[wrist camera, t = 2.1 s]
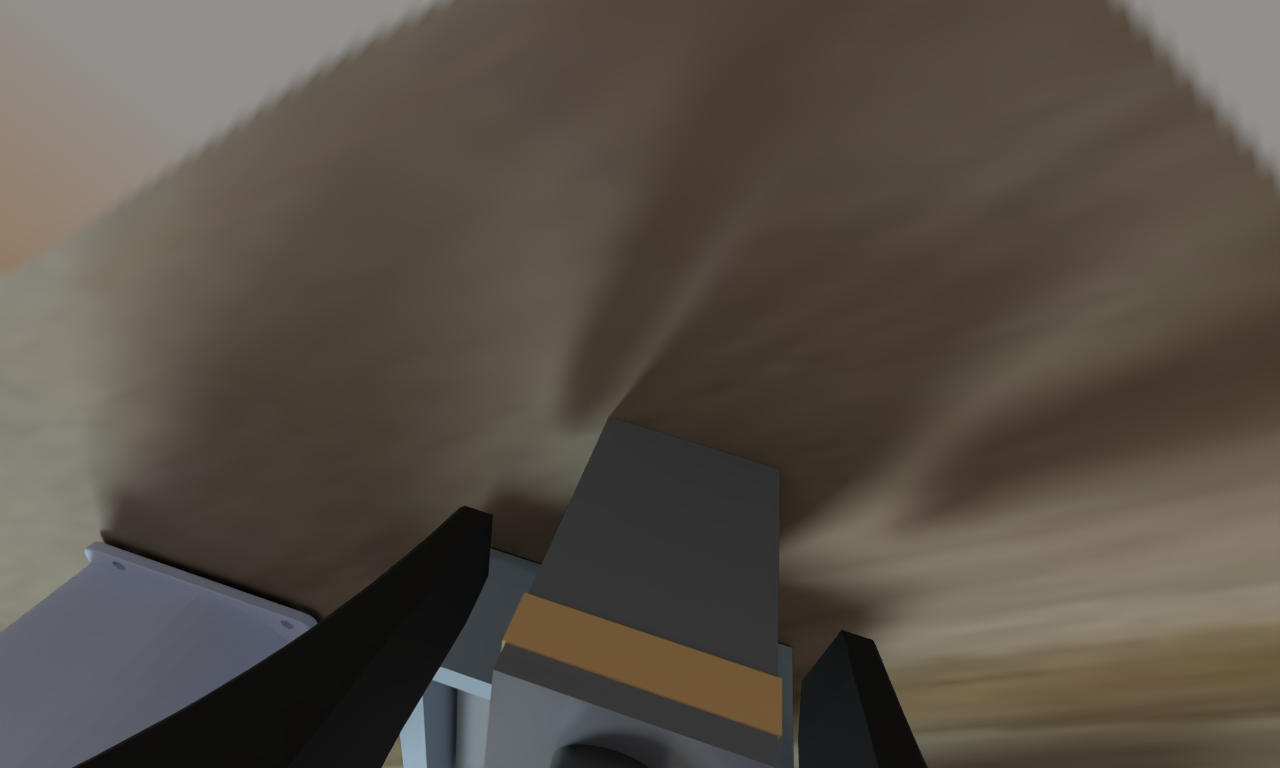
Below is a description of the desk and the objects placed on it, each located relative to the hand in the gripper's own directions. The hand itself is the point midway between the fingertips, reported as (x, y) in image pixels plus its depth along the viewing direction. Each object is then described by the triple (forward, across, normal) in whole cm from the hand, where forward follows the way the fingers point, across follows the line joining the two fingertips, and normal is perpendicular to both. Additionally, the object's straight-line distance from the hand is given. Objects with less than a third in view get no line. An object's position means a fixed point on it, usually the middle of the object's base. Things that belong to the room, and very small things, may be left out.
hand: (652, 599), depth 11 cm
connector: (+3, 0, 0) cm, 3 cm away
